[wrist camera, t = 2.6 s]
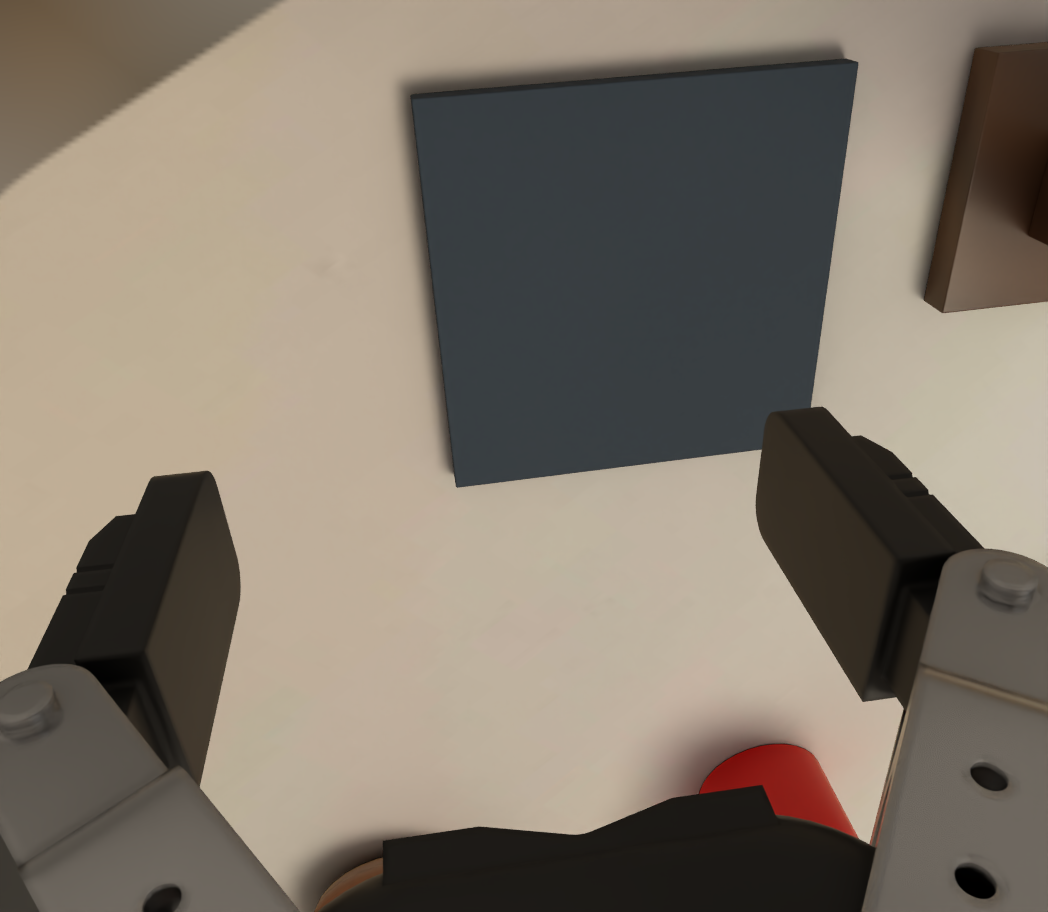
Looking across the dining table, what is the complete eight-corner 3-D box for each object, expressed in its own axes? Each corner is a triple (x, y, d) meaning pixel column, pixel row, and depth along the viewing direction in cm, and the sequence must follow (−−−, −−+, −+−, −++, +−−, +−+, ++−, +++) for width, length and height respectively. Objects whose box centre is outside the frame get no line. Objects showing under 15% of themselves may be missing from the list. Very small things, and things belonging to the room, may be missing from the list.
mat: (410, 94, 30) (411, 98, 29) (846, 58, 32) (859, 61, 31) (454, 476, 39) (456, 488, 38) (796, 433, 40) (805, 444, 39)
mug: (622, 828, 54) (656, 955, 47) (779, 725, 51) (839, 845, 44) (692, 874, 58) (733, 997, 51) (842, 780, 55) (907, 898, 48)
